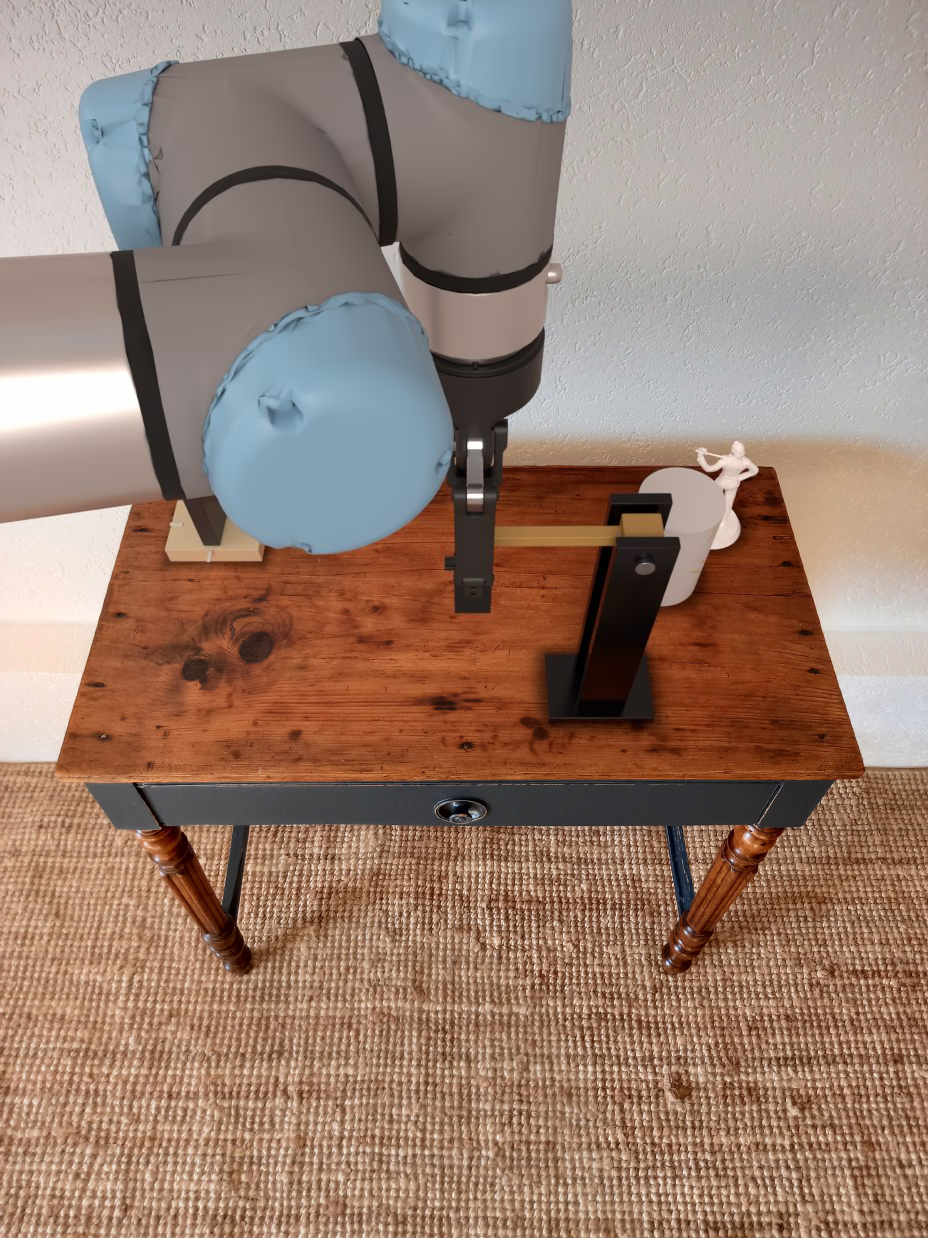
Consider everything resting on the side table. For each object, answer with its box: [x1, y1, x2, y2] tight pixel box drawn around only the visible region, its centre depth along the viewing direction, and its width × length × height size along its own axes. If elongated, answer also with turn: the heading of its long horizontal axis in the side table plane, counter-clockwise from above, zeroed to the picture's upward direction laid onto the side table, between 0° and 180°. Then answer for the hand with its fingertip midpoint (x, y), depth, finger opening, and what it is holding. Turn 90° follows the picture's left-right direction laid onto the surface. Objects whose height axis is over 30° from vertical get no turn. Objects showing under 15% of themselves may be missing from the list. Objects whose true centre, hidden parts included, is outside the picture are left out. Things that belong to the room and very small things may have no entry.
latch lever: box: [494, 513, 665, 548], centre depth 58 cm, size 14×5×2 cm, turn 90°
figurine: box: [694, 440, 759, 550], centre depth 84 cm, size 7×7×12 cm
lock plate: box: [164, 499, 266, 563], centre depth 88 cm, size 10×10×2 cm
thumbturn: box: [181, 495, 227, 546], centre depth 84 cm, size 6×2×8 cm, turn 179°
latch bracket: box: [543, 492, 681, 724], centre depth 67 cm, size 10×7×26 cm
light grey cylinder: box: [638, 466, 726, 607], centre depth 80 cm, size 8×8×12 cm
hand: (472, 577), depth 62 cm, fingers closed on latch lever, 5 cm apart
